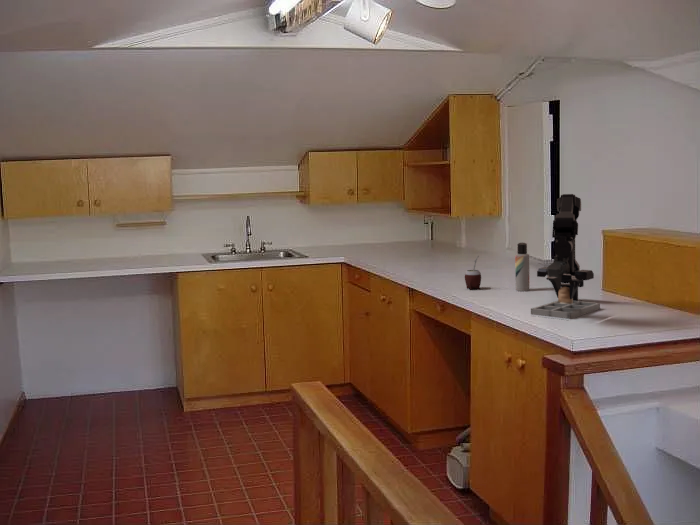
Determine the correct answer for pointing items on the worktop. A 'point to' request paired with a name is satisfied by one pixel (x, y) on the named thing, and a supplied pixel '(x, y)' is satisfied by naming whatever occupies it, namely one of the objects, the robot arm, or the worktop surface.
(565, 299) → the brown egg
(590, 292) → the worktop surface
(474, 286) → the mate gourd
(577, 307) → the grey egg tray
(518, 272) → the lotion bottle
